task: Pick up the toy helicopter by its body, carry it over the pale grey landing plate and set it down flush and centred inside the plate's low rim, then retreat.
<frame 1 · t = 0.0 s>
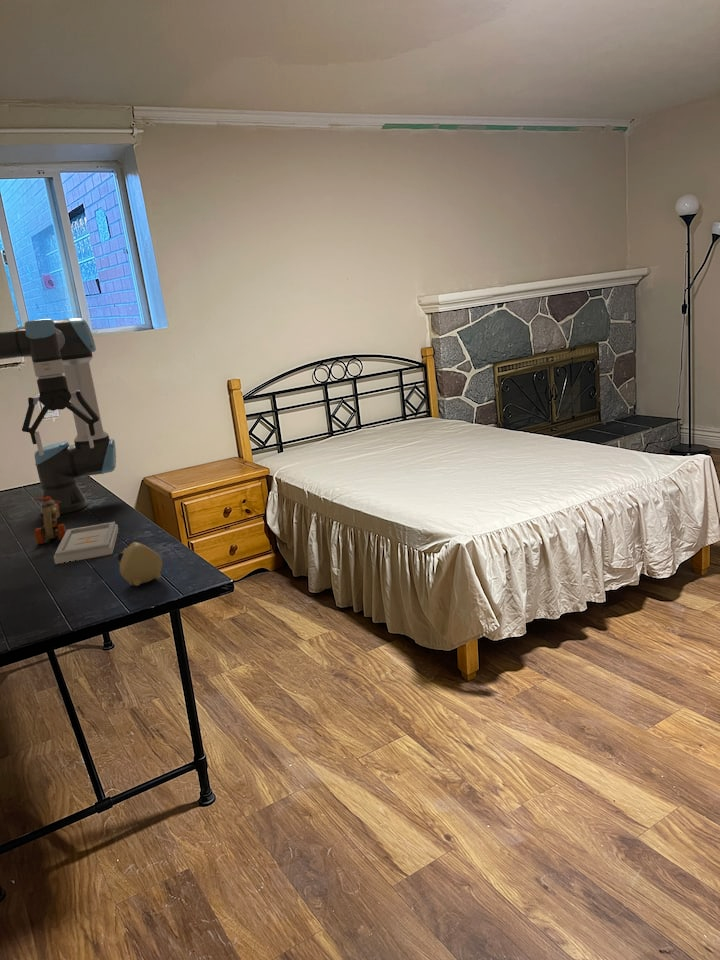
hand: (67, 451, 199), 28 cm above the table, tool pointing down, fingers open, 13 cm apart
toy pig: (143, 583, 170), on the table
toy helicopter: (55, 536, 218), on the table
landing plate: (88, 546, 203), on the table
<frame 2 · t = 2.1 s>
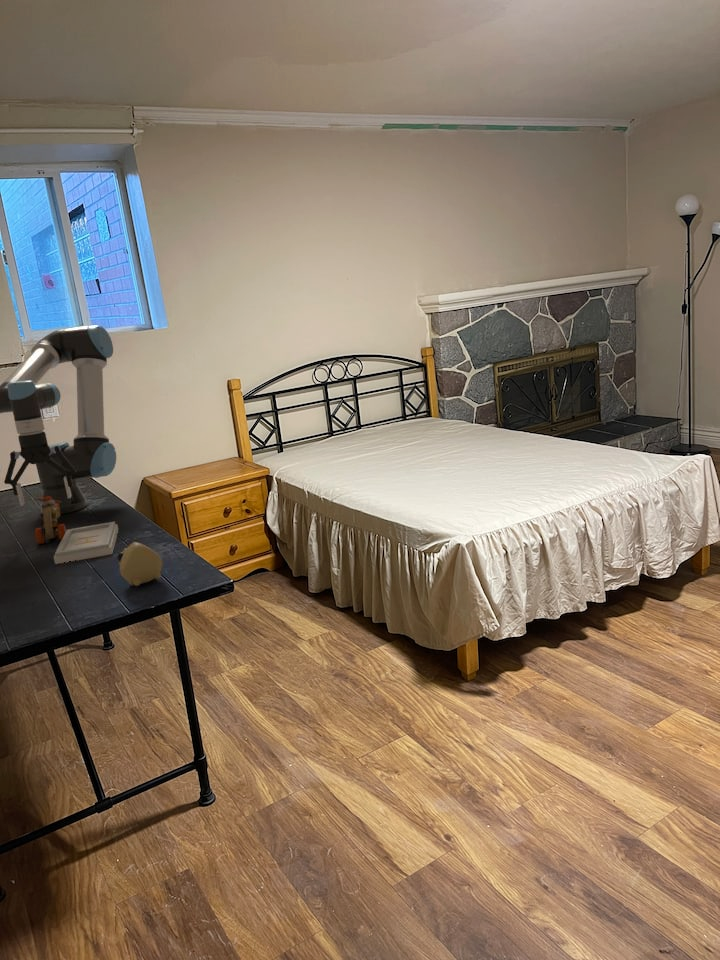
hand: (46, 501, 215), 11 cm above the table, tool pointing down, fingers open, 13 cm apart
nothing on the table moved.
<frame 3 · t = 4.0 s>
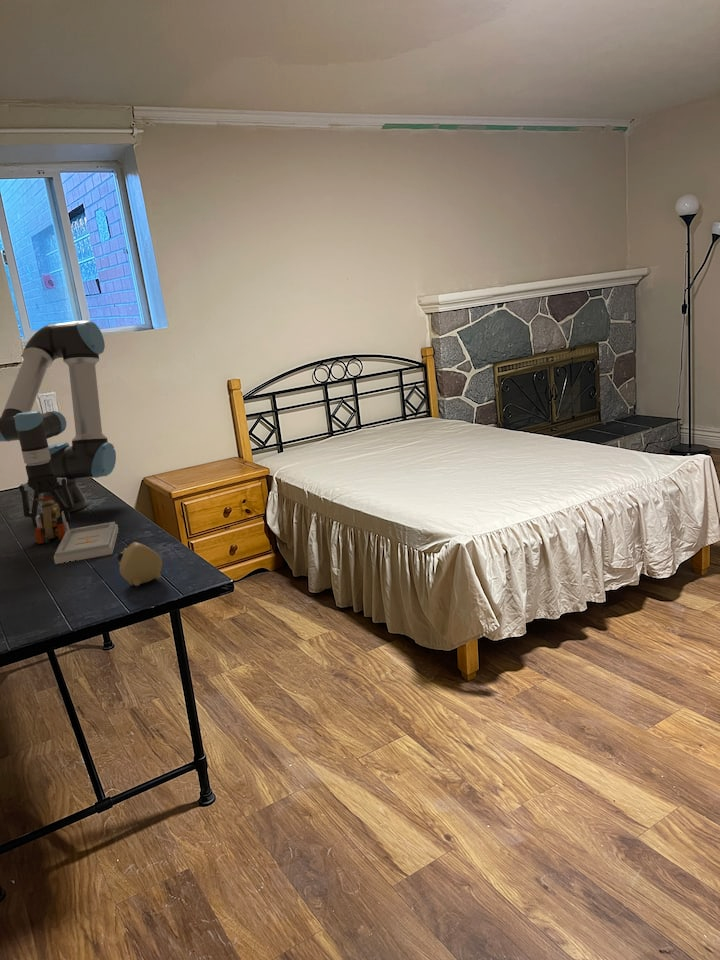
hand: (54, 534, 218), 1 cm above the table, tool pointing down, fingers closed on toy helicopter, 7 cm apart
toy helicopter: (55, 536, 218), on the table, touching gripper
everything else where it was.
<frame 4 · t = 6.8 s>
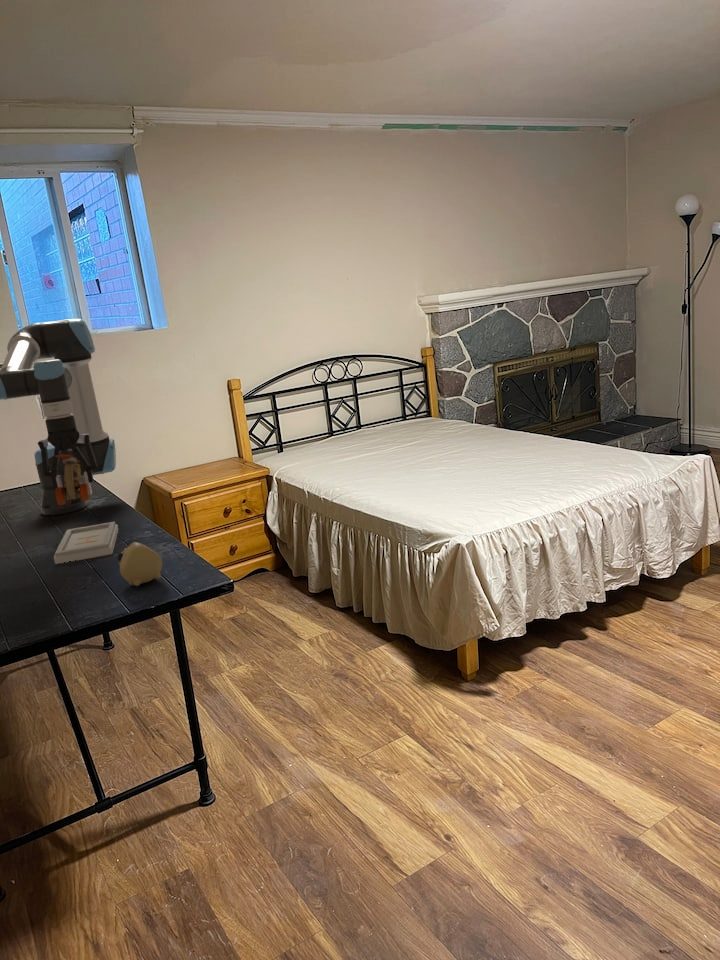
hand: (76, 495, 200), 15 cm above the table, tool pointing down, fingers closed on toy helicopter, 7 cm apart
toy helicopter: (77, 498, 200), point 15 cm above the table, touching gripper
everything else where it was.
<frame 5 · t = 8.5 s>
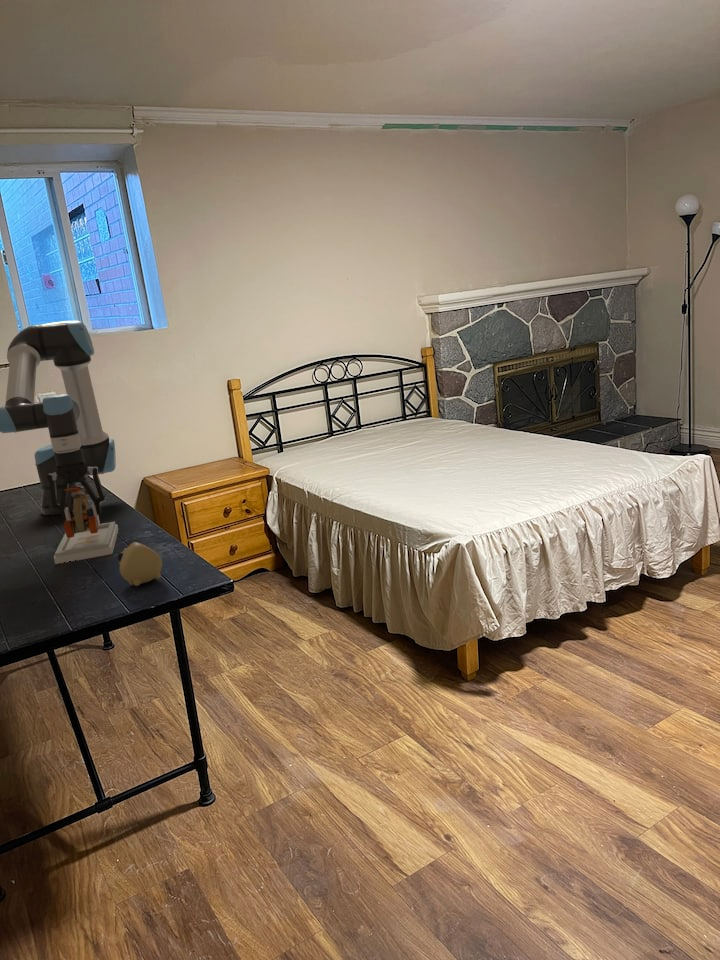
hand: (84, 527, 202), 6 cm above the table, tool pointing down, fingers closed on toy helicopter, 7 cm apart
toy helicopter: (85, 530, 202), point 5 cm above the table, touching gripper
everything else where it was.
when the fingers open (3 cm above the table, at t = 9.8 s): toy helicopter stays where it is, resting on landing plate.
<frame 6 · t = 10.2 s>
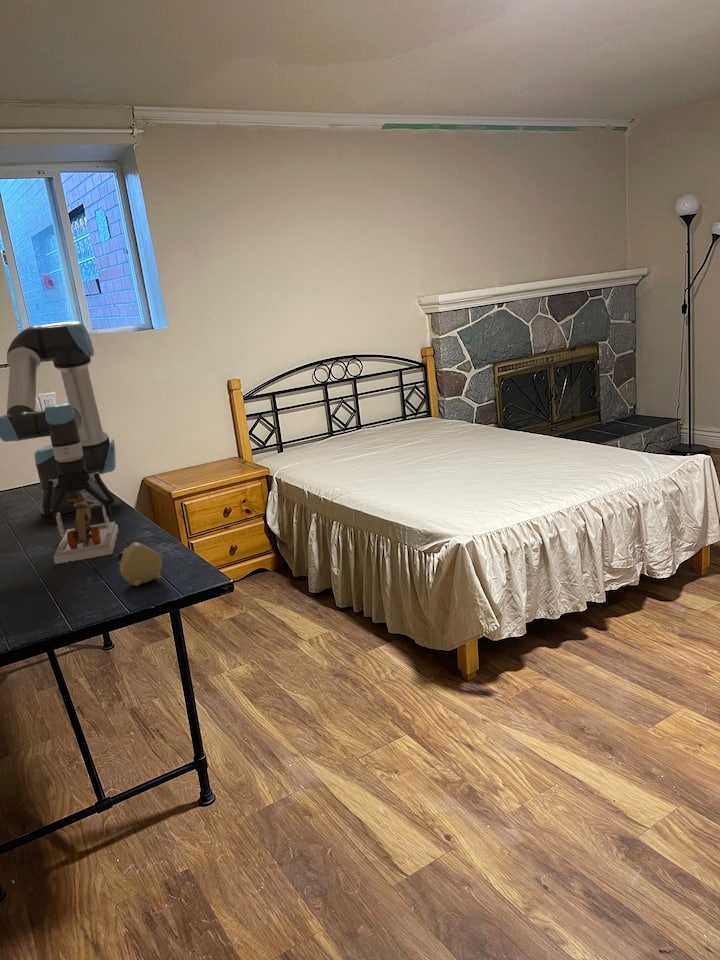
hand: (85, 531, 202), 5 cm above the table, tool pointing down, fingers open, 12 cm apart
toy helicopter: (87, 540, 203), point 2 cm above the table, touching landing plate
everything else where it was.
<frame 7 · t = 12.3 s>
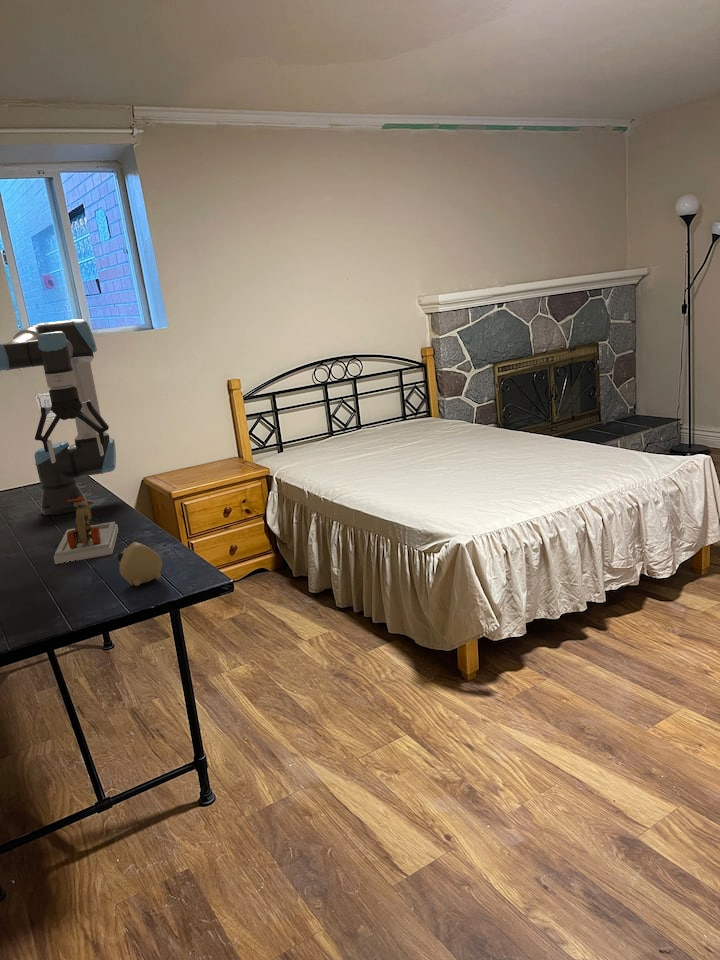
hand: (78, 458, 206), 24 cm above the table, tool pointing down, fingers open, 13 cm apart
nothing on the table moved.
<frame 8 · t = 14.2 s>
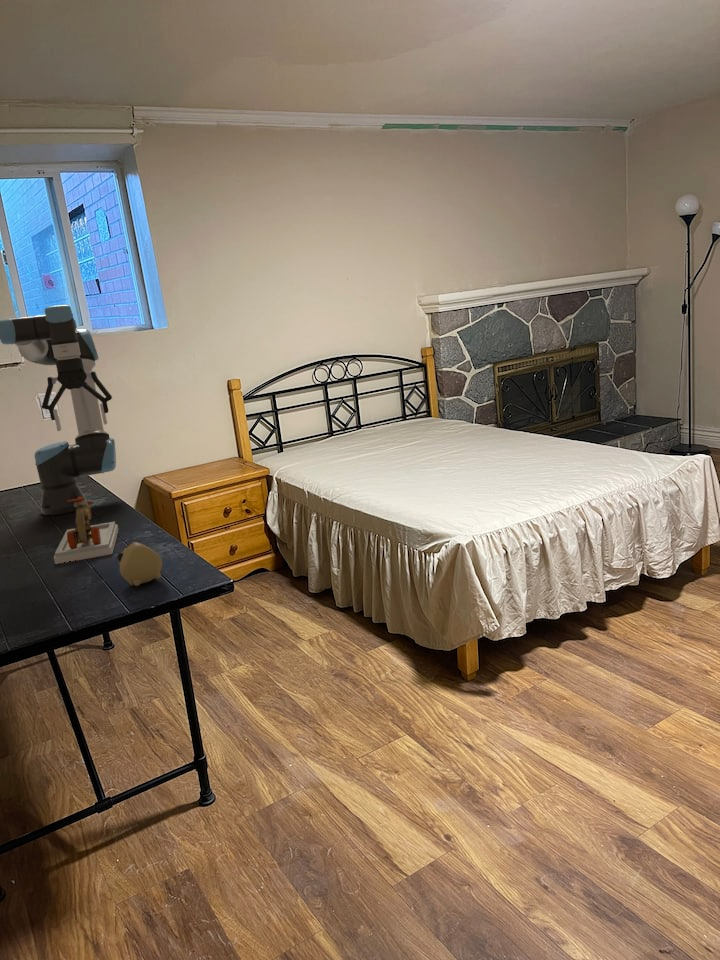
hand: (82, 427, 217), 32 cm above the table, tool pointing down, fingers open, 13 cm apart
nothing on the table moved.
at the end: toy helicopter inside the target area on the landing plate (0.1 cm from its centre), point 1.9 cm above the landing plate's base; toy helicopter tilted 0°; the gripper is holding nothing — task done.
